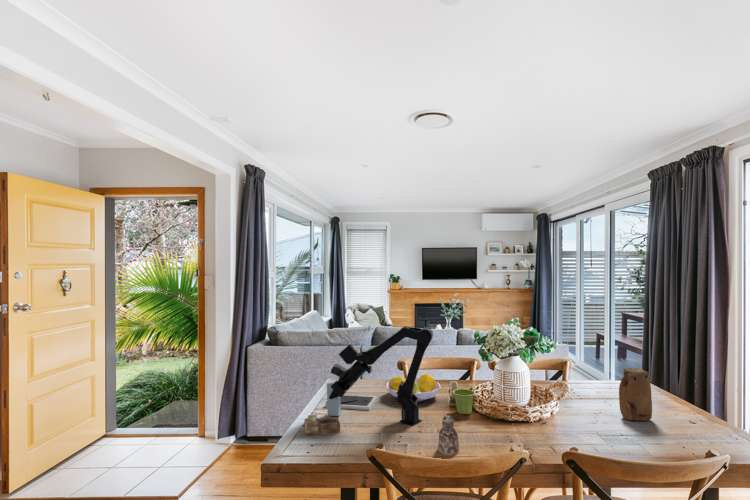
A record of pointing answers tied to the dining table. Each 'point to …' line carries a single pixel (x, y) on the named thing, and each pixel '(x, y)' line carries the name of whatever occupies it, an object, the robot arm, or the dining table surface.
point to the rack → (326, 426)
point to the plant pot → (464, 400)
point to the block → (635, 395)
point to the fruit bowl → (416, 387)
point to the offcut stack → (311, 424)
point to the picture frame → (357, 402)
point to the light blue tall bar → (333, 402)
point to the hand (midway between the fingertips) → (330, 397)
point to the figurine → (448, 437)
